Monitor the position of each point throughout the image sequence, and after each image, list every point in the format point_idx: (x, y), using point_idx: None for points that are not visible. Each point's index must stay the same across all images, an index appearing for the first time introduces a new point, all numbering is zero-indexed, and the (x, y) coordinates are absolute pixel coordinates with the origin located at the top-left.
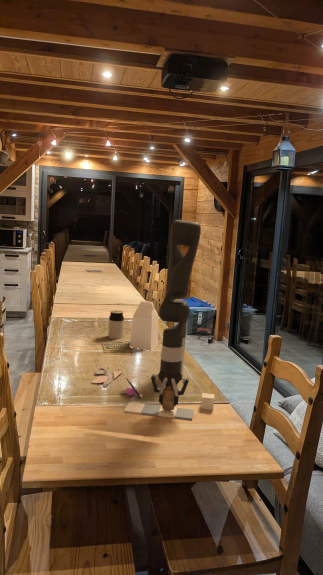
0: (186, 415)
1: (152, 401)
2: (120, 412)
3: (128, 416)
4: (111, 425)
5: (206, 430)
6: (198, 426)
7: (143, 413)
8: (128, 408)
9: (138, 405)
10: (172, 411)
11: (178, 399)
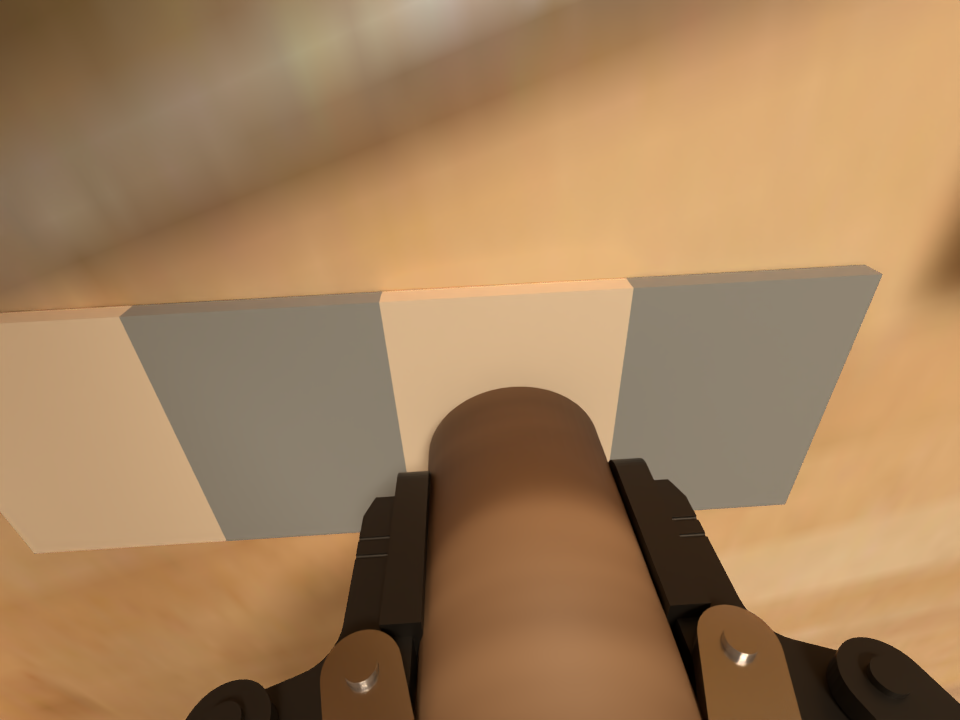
0: (734, 467)
1: (138, 66)
2: (20, 550)
3: (155, 589)
4: (142, 708)
5: (853, 599)
6: (804, 568)
7: (258, 532)
8: (32, 503)
9: (72, 394)
10: None
11: (704, 535)
